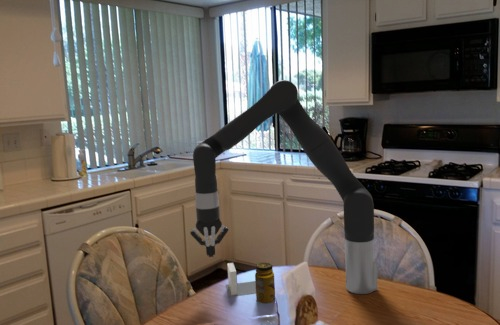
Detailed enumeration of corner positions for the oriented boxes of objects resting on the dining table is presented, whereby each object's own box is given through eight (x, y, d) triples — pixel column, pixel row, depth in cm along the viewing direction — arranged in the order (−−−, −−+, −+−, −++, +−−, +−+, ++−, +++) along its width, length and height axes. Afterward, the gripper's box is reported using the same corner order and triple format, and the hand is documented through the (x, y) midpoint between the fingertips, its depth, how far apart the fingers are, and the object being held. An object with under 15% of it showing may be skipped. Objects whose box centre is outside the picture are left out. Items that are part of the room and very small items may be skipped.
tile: (234, 284, 159) (233, 262, 158) (238, 294, 152) (236, 271, 150) (228, 285, 159) (227, 263, 158) (231, 295, 151) (230, 272, 150)
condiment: (281, 301, 146) (279, 265, 144) (259, 309, 142) (256, 272, 140) (267, 294, 152) (265, 259, 150) (246, 301, 148) (243, 265, 146)
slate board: (262, 281, 162) (262, 280, 162) (268, 293, 152) (268, 291, 152) (225, 286, 160) (225, 284, 160) (229, 298, 150) (228, 296, 150)
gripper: (226, 200, 155) (229, 250, 157) (186, 204, 153) (190, 254, 155) (229, 206, 147) (232, 258, 150) (187, 209, 145) (191, 262, 148)
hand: (210, 256), depth 153 cm, fingers closed
